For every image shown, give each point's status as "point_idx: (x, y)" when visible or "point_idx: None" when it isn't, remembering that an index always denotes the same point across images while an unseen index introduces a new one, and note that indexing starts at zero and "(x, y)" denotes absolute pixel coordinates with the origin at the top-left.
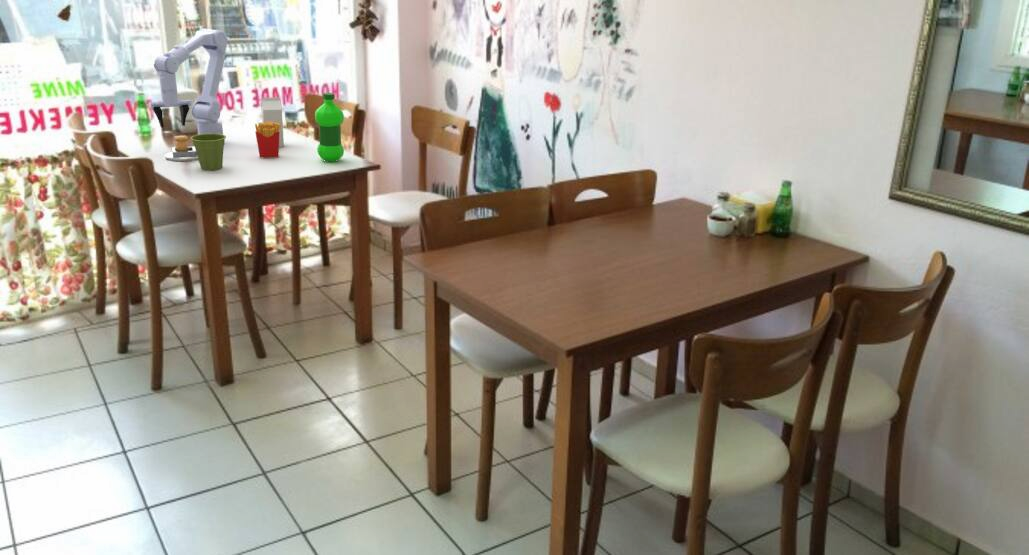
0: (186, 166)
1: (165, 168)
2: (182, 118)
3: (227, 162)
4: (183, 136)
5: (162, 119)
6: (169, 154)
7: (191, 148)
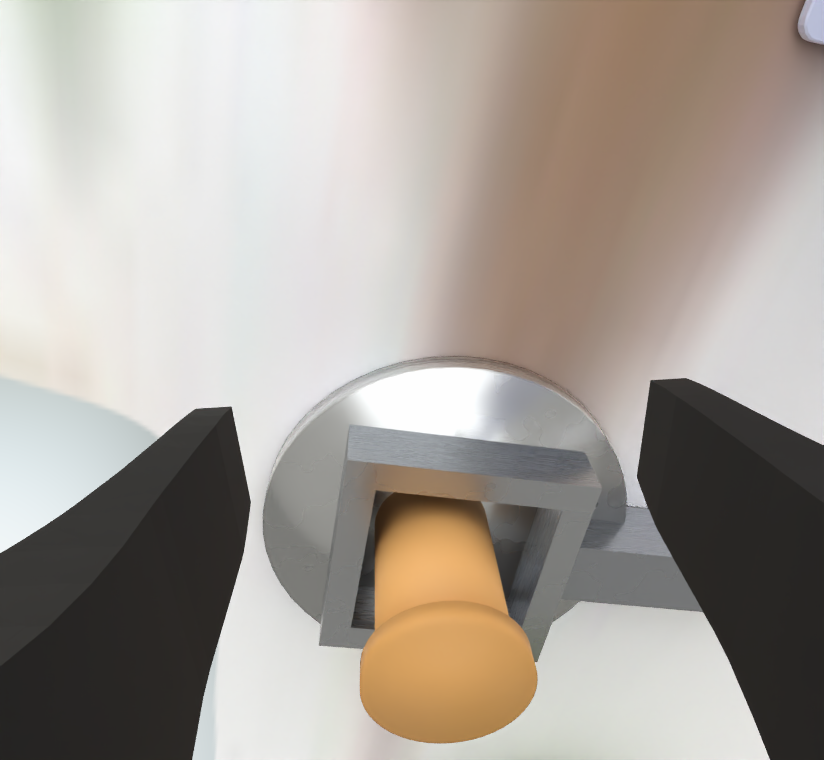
0: (386, 741)
1: (231, 750)
2: (714, 565)
3: (692, 721)
4: (490, 671)
5: (203, 674)
6: (308, 484)
7: (553, 498)
